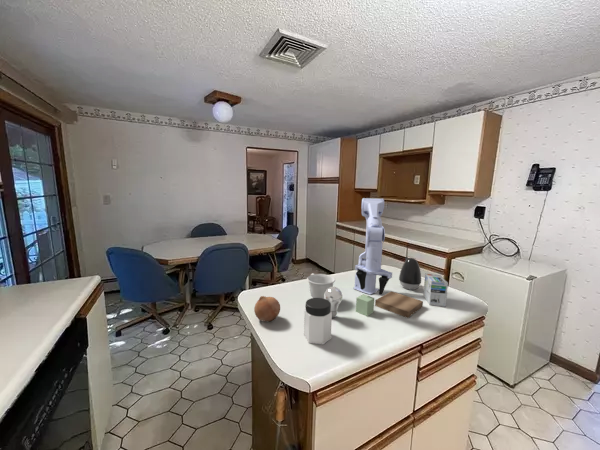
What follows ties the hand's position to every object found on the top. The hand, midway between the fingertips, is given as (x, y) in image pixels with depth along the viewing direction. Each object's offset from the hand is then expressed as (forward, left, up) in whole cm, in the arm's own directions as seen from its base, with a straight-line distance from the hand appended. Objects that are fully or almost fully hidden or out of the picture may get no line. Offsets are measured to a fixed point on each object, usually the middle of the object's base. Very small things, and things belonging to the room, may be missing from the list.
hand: (371, 291), depth 103 cm
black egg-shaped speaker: (-1, +37, -9) cm, 38 cm away
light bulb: (-8, -15, -9) cm, 19 cm away
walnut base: (+5, +13, -9) cm, 17 cm away
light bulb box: (+13, +30, -9) cm, 34 cm away
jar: (-3, -29, -9) cm, 30 cm away
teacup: (-22, -7, -9) cm, 24 cm away
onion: (-22, -34, -9) cm, 42 cm away
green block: (-2, -2, -9) cm, 9 cm away
